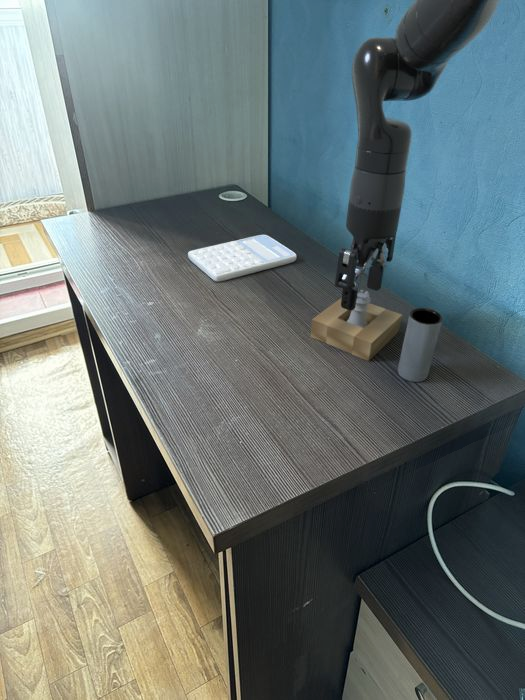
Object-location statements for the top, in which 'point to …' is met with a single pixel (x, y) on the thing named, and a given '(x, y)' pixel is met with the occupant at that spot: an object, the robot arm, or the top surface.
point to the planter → (419, 344)
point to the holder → (356, 329)
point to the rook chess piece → (360, 310)
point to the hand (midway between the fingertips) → (361, 298)
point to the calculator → (241, 257)
